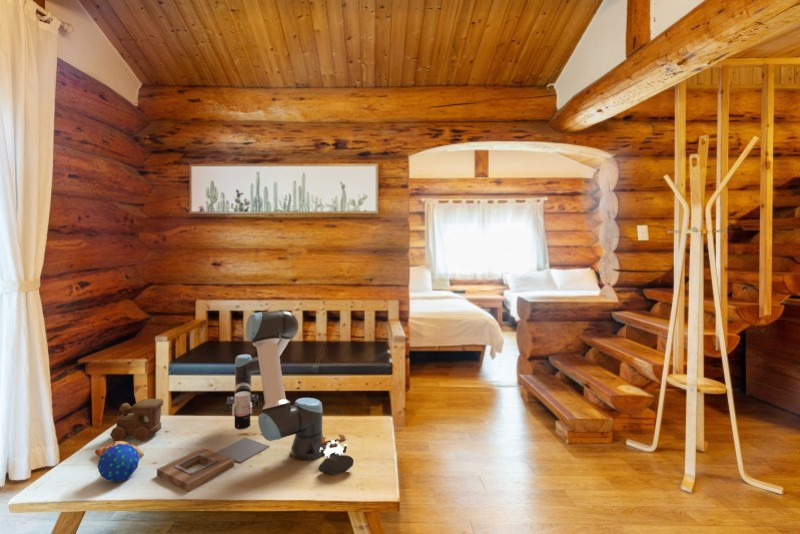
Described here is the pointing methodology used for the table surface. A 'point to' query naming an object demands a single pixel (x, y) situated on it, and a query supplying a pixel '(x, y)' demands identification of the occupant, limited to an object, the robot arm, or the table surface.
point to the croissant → (103, 449)
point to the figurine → (335, 457)
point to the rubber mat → (242, 449)
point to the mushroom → (118, 462)
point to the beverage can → (242, 410)
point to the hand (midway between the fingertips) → (242, 411)
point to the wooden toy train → (138, 420)
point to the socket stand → (190, 480)
